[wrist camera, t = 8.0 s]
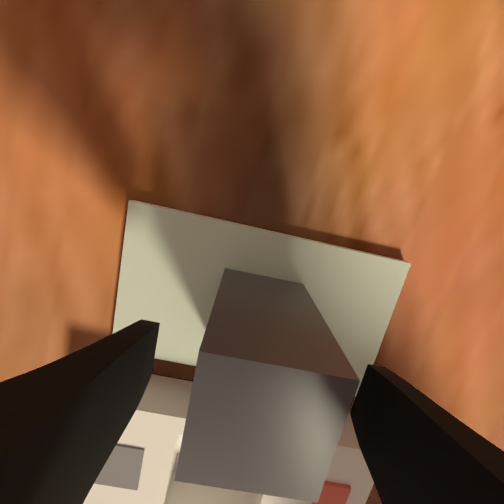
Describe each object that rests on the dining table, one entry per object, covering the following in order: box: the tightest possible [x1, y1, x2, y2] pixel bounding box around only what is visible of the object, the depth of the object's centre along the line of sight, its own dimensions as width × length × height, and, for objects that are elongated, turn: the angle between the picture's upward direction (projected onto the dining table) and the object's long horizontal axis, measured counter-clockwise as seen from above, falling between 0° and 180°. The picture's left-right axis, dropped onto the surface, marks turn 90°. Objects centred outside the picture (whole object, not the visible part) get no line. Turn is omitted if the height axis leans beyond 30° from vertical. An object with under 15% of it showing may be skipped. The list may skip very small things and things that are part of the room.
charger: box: [174, 268, 360, 503], centre depth 10 cm, size 4×4×7 cm
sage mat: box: [113, 200, 411, 396], centre depth 14 cm, size 14×8×1 cm, turn 77°
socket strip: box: [83, 374, 374, 504], centre depth 15 cm, size 16×7×3 cm, turn 77°
